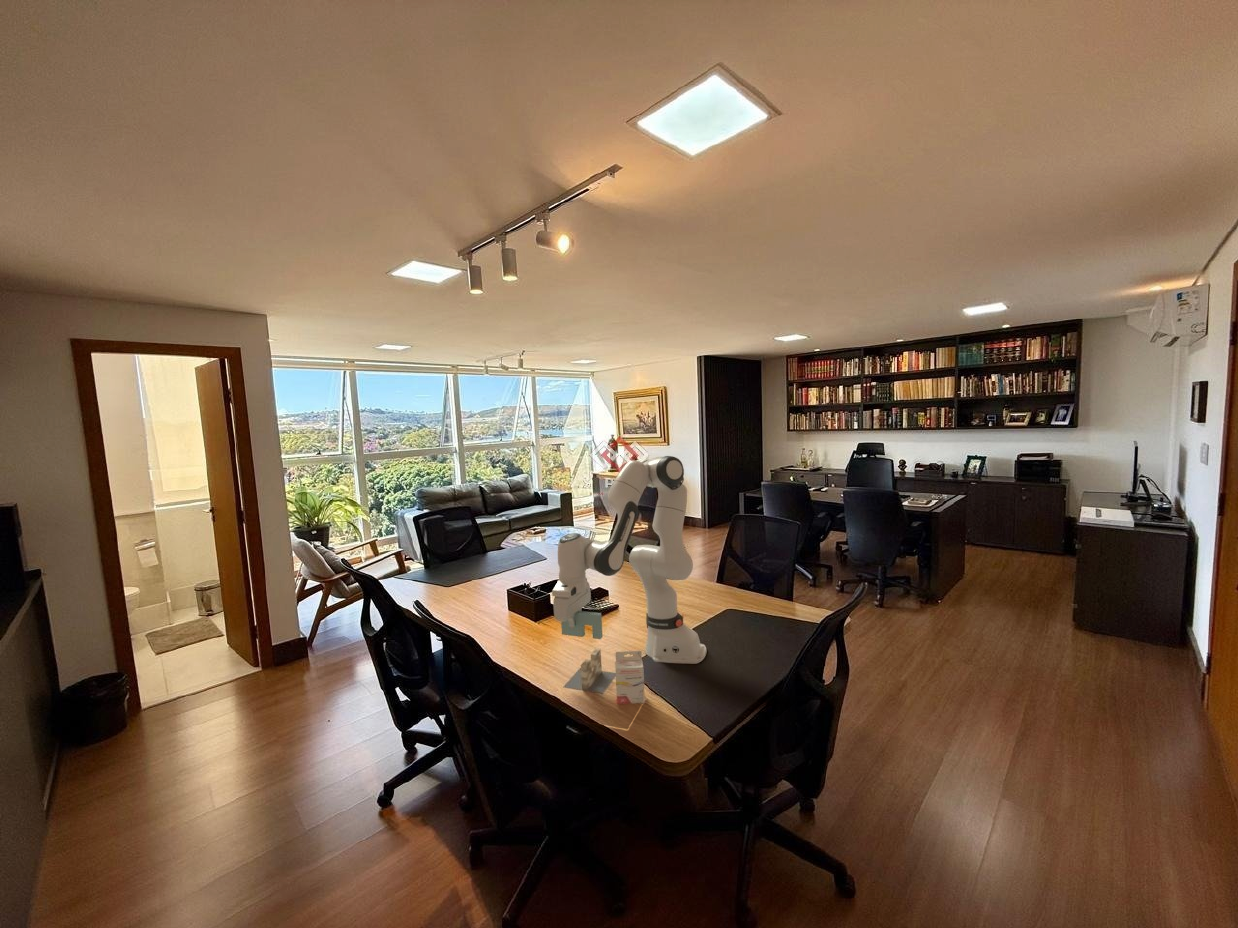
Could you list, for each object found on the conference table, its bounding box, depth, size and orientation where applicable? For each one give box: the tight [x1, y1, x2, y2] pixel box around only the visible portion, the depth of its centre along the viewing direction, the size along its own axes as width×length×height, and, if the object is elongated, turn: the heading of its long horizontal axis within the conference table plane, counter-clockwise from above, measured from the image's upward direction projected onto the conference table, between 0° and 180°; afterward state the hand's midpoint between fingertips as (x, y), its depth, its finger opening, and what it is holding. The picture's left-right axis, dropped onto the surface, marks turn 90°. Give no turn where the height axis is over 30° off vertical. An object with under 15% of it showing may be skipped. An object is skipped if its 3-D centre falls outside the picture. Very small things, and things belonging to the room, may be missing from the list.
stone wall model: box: [580, 648, 603, 691], centre depth 163 cm, size 12×2×8 cm, turn 159°
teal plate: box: [560, 610, 603, 640], centre depth 163 cm, size 14×2×8 cm, turn 69°
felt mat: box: [563, 667, 616, 695], centre depth 164 cm, size 14×13×1 cm
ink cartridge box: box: [614, 650, 646, 705], centre depth 151 cm, size 9×5×15 cm, turn 92°
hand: (574, 624), depth 164 cm, fingers closed on teal plate, 2 cm apart
